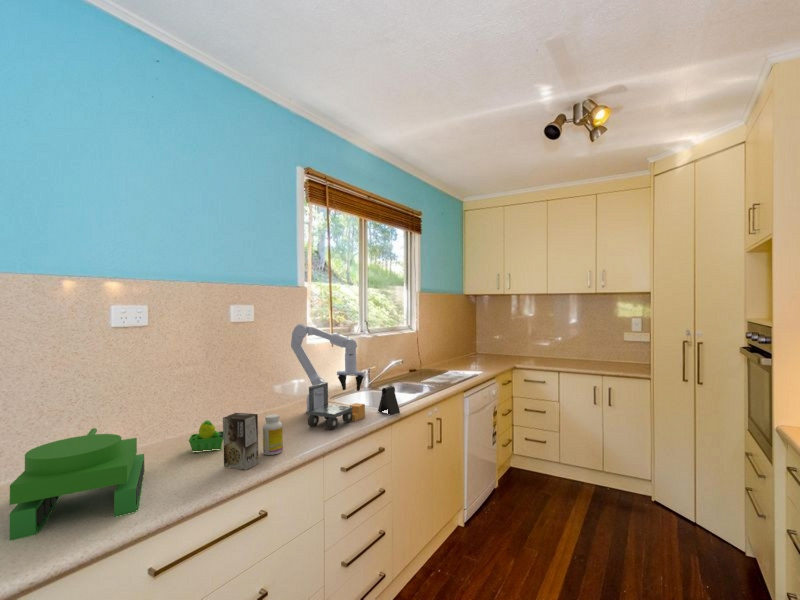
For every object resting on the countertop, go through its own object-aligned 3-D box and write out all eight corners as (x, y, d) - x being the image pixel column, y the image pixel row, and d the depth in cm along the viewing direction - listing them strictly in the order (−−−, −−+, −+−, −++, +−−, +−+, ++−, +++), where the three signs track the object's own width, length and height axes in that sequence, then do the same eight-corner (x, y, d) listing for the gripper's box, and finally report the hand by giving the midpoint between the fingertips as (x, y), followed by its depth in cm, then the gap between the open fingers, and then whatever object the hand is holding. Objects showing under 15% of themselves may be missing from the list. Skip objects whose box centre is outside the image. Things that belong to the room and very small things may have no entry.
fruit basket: (225, 444, 151) (225, 414, 151) (223, 452, 143) (222, 420, 143) (192, 448, 148) (191, 417, 148) (187, 456, 139) (187, 423, 139)
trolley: (308, 414, 172) (307, 387, 172) (326, 407, 183) (326, 381, 184) (334, 418, 166) (334, 389, 166) (352, 410, 177) (351, 384, 177)
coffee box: (259, 463, 132) (258, 413, 132) (246, 470, 126) (245, 419, 126) (237, 460, 135) (236, 411, 135) (222, 467, 129) (222, 417, 129)
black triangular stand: (400, 412, 191) (399, 387, 191) (391, 415, 187) (390, 389, 187) (386, 409, 197) (386, 385, 198) (377, 412, 193) (377, 387, 193)
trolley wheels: (307, 427, 170) (307, 415, 170) (330, 417, 184) (330, 406, 184) (330, 431, 165) (330, 418, 165) (352, 420, 179) (352, 409, 179)
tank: (147, 468, 132) (147, 418, 132) (138, 513, 101) (137, 448, 102) (51, 485, 120) (51, 430, 121) (8, 542, 89) (8, 468, 90)
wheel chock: (346, 420, 180) (345, 407, 181) (355, 415, 188) (355, 403, 188) (355, 421, 178) (355, 408, 178) (365, 417, 185) (364, 404, 185)
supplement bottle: (286, 450, 143) (286, 414, 143) (273, 456, 137) (273, 419, 137) (272, 448, 146) (271, 412, 146) (258, 454, 140) (258, 417, 140)
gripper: (333, 363, 198) (334, 391, 198) (361, 364, 194) (361, 392, 194) (340, 361, 205) (340, 388, 205) (366, 362, 201) (367, 389, 200)
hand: (351, 390), depth 200 cm, fingers open, 7 cm apart
